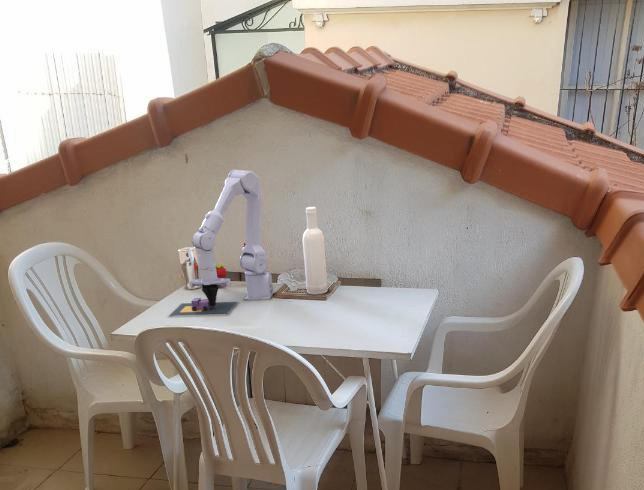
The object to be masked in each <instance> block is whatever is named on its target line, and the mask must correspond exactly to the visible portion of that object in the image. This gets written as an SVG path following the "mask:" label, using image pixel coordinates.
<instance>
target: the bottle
mask: <svg viewBox="0 0 644 490" xmlns="http://www.w3.org/2000/svg"><path fill="white" fill-rule="evenodd" d="M317 213H318V211H317V207H316V206H307V207H306V208H305V216H306V227H307V228H306V229H305V231H304V232H303V235H302V251H303V260H304V261H303V263H304V272H305V273H304V274H305V286H306V293H307V294H309V295H323V294H325V293H328V291H329V289H327V288H328V287H329V285H328V274H327V273H328V272H327V260H326V258H327V257H326V246H325V245H326V244H325V235H324V233H323V231H322V230H321V229H320V228H319V227H318V215H317ZM326 289H327V290H326ZM324 290H325V291H324Z"/></svg>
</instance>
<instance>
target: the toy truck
mask: <svg viewBox="0 0 644 490" xmlns="http://www.w3.org/2000/svg"><path fill="white" fill-rule="evenodd" d="M190 303H192V307H191V308H192V311H196V310H205V311H206V310H210V308H211V307H212V306H211V305H210V303H209V300H208V298H201V297H194V298H193V299H192V300H191V302H190Z"/></svg>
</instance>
